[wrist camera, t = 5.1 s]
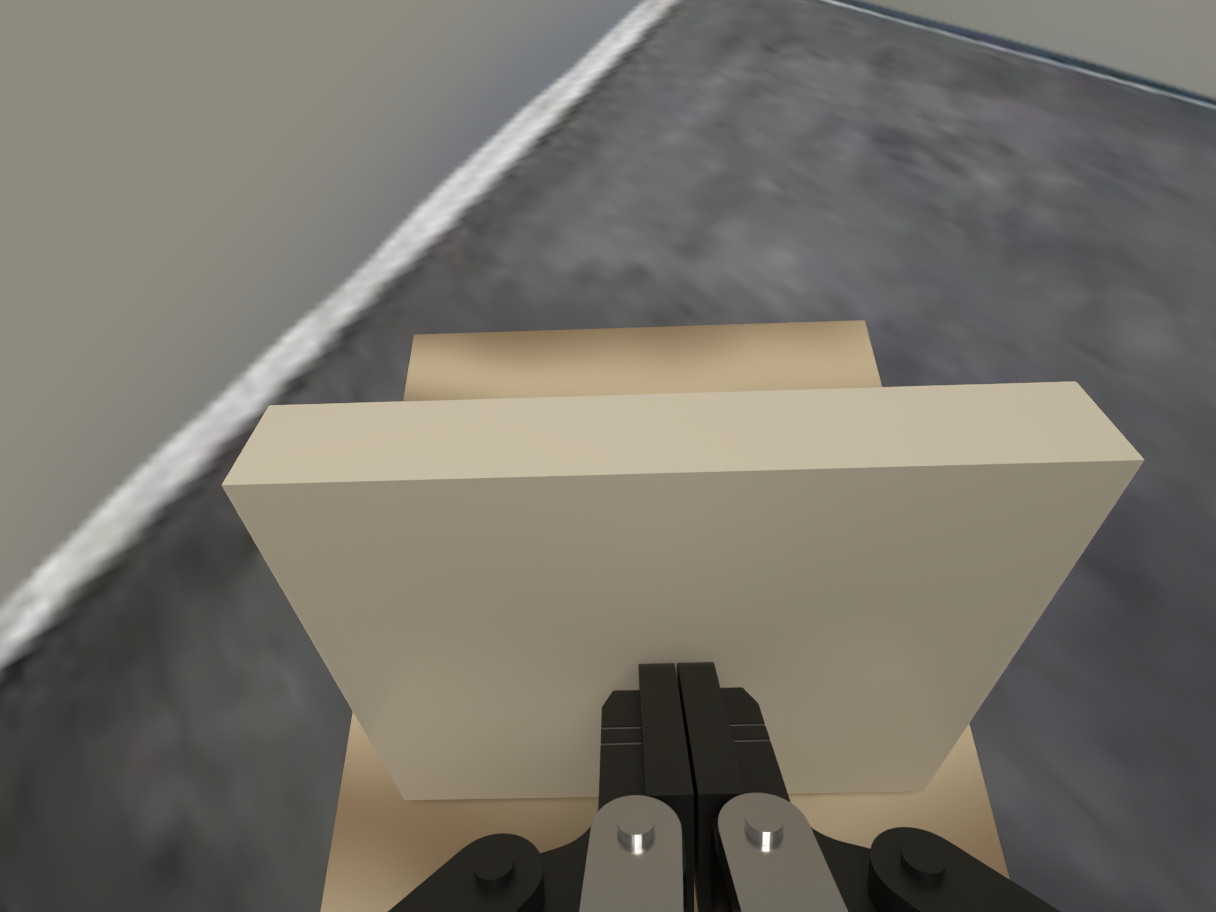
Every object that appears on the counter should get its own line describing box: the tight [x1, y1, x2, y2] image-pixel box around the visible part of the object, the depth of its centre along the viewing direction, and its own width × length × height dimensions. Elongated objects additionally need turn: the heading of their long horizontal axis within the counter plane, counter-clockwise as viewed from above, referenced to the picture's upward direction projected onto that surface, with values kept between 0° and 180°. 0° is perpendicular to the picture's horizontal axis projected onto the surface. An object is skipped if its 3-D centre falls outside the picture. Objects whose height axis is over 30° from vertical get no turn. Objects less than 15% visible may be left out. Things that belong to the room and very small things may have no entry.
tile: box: [222, 381, 1144, 800], centre depth 15 cm, size 14×2×12 cm, turn 91°
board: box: [321, 320, 1010, 912], centre depth 22 cm, size 24×18×2 cm
